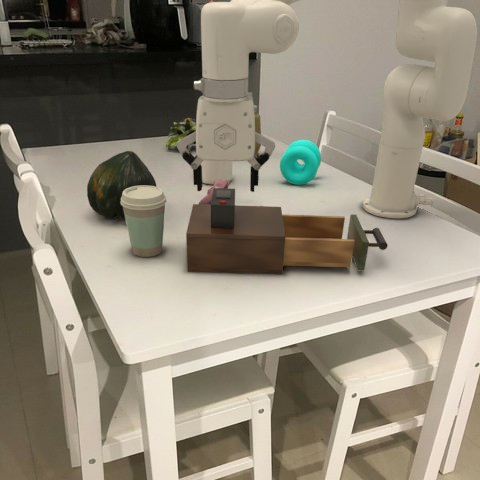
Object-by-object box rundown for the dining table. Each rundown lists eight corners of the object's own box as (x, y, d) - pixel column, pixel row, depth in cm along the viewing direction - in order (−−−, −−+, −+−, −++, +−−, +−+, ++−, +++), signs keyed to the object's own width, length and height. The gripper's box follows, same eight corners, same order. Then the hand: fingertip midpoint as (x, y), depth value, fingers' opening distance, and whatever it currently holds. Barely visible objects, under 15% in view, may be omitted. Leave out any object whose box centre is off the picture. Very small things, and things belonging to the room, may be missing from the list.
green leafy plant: (190, 163, 174) (210, 131, 171) (192, 166, 164) (214, 132, 161) (160, 142, 170) (180, 109, 167) (161, 145, 160) (182, 109, 157)
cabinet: (278, 241, 111) (281, 206, 107) (282, 274, 98) (285, 236, 94) (193, 239, 111) (193, 203, 106) (187, 271, 98) (186, 233, 94)
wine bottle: (237, 183, 141) (240, 58, 125) (203, 187, 138) (202, 59, 122) (224, 173, 148) (226, 53, 132) (192, 176, 145) (189, 54, 129)
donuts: (277, 184, 142) (280, 146, 136) (284, 173, 150) (286, 136, 145) (315, 188, 140) (319, 149, 135) (319, 176, 148) (323, 140, 143)
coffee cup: (148, 238, 110) (144, 181, 104) (177, 250, 106) (175, 191, 99) (116, 251, 105) (109, 191, 98) (145, 264, 100) (141, 203, 94)
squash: (69, 186, 120) (89, 144, 108) (126, 175, 129) (149, 135, 117) (98, 240, 118) (121, 203, 106) (153, 225, 127) (179, 190, 116)
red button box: (234, 210, 104) (235, 187, 102) (233, 228, 97) (234, 204, 94) (213, 209, 104) (213, 186, 102) (210, 227, 97) (210, 203, 94)
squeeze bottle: (231, 152, 166) (232, 90, 157) (255, 151, 169) (258, 89, 159) (239, 159, 160) (240, 95, 150) (264, 158, 162) (267, 94, 152)
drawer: (373, 241, 110) (378, 215, 107) (388, 271, 99) (393, 243, 95) (272, 238, 110) (274, 211, 107) (275, 268, 98) (277, 239, 95)
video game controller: (212, 217, 125) (226, 193, 121) (195, 207, 124) (208, 182, 120) (222, 203, 133) (235, 179, 129) (206, 193, 132) (219, 169, 128)
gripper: (170, 92, 85) (176, 195, 94) (278, 94, 85) (274, 197, 94) (175, 84, 91) (181, 181, 101) (276, 85, 91) (272, 182, 101)
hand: (226, 189), depth 98 cm, fingers open, 9 cm apart
